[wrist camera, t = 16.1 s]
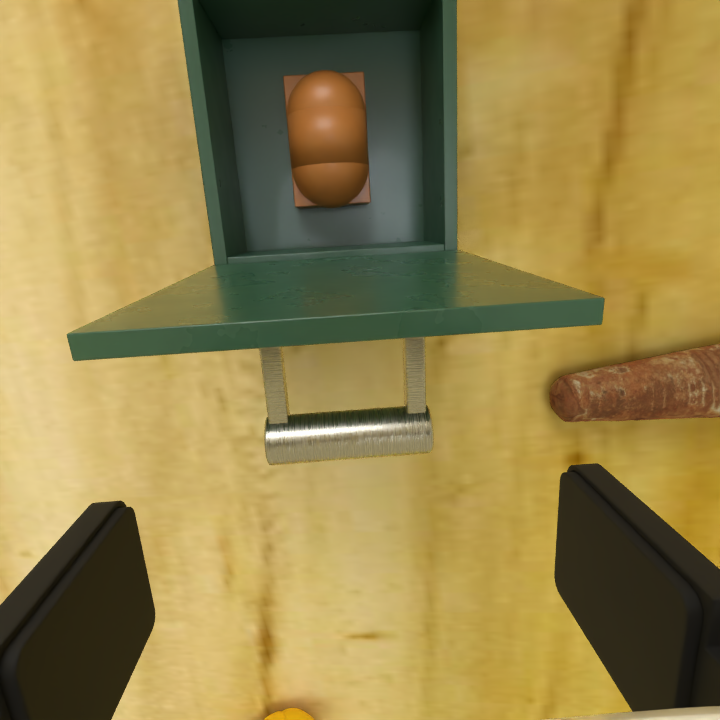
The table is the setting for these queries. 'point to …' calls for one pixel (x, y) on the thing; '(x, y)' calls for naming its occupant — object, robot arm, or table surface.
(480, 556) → the table surface
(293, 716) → the duckling
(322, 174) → the bread roll
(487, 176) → the table surface
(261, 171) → the box
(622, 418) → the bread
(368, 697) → the table surface
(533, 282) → the warmer lid
